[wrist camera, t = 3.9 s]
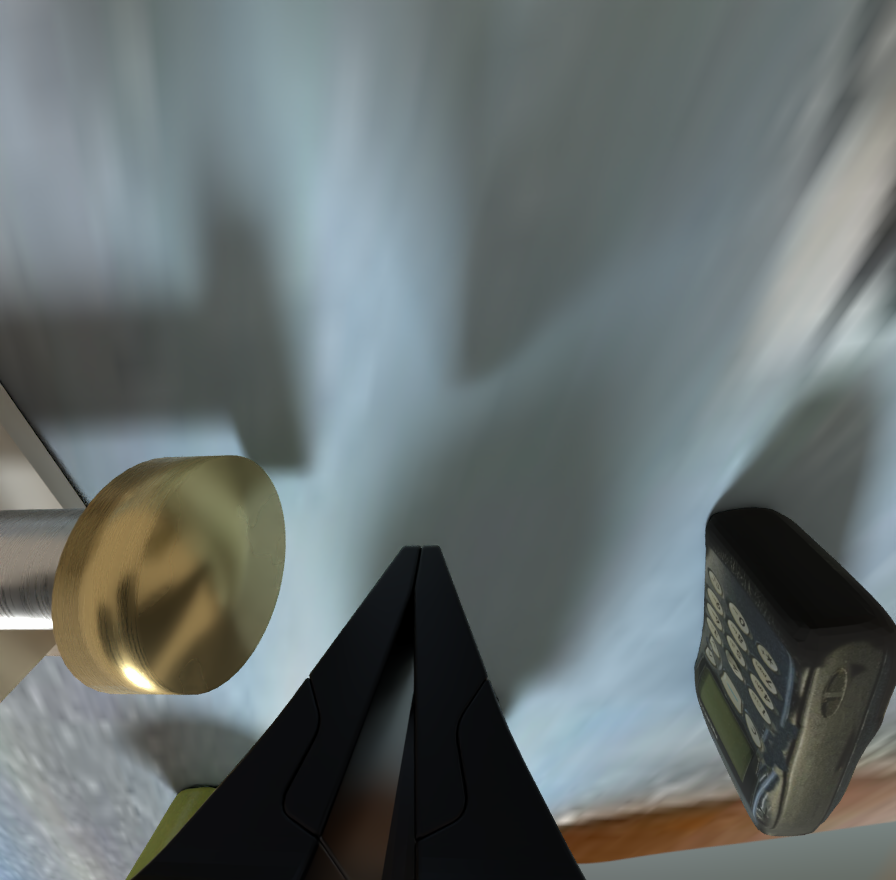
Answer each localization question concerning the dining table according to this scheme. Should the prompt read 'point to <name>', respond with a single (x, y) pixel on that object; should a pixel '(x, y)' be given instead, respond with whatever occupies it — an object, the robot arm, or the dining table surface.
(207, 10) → the dining table surface
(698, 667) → the mobile phone
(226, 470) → the door knob
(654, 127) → the dining table surface
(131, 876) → the plant pot
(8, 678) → the block
